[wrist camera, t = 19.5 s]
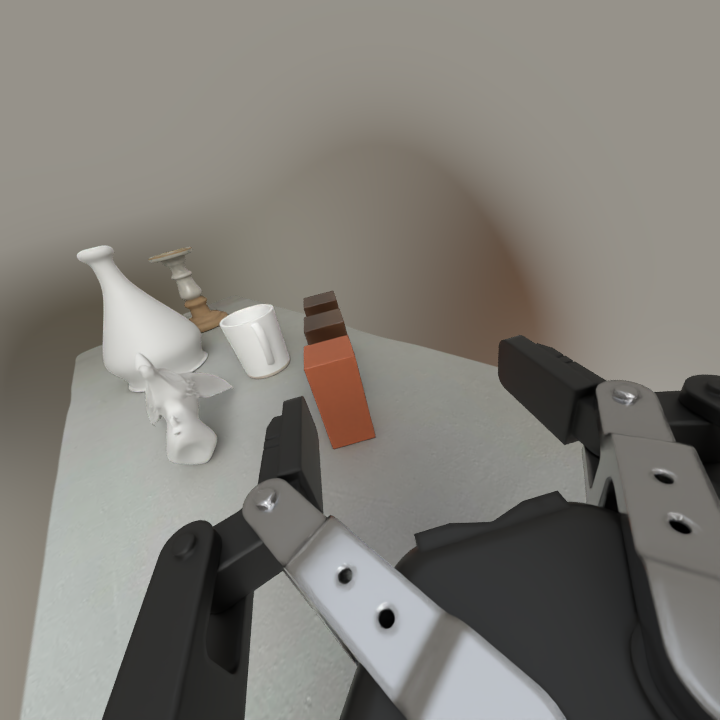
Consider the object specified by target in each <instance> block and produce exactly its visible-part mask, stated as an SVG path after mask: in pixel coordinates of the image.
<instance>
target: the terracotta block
mask: <svg viewBox="0 0 720 720" xmlns="http://www.w3.org/2000/svg"><path fill="white" fill-rule="evenodd" d="M304 371H305V373H306V376H307V379H308V382H309V384H310V387H311V390H312V393H313V395H314V398H315V401H316V404H317V406H318V409H319V412H320V414H321V417H322V420H323V423H324V425H325V428H326V431H327V434H328V436H329V439H330V442H331V444H332V447H333V449H336V448H340V447H343V446H347V445H350V444H354V443H357V442H360V441H364V440H367V439H371V438H374V437H375V433H374V429H373V425H372V421H371V417H370V413H369V409H368V405H367V401H366V397H365V393H364V390H363V386H362V382H361V378H360V374H359V370H358V366H357V362H356V358H355V355H354V352H353V349H352V346H351V343H350V340H349V337H348V335H345V336H342V337H338V338H334V339H330V340H327V341H323V342H319V343H316V344H312V345H308V346H305V347H304Z"/></svg>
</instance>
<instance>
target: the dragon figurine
mask: <svg viewBox="0 0 720 720" xmlns="http://www.w3.org/2000/svg"><path fill="white" fill-rule="evenodd" d="M135 368H136V370H137V372H139V373H140V374H141V376H142V377H143V378H144V379H145V380H146V382H147V388H146V391H145V395H146V396H145V399H146V411H147V415H148V417H149V419H150V421H151V423H156V422H158V421H159V420H160V419H161V417H162V416H163V418H164V419H165V420H166V421H167V431H166V451H167V456H168V459H169V460H170V461H171V462H172V463H176V464H204V463H206V462H208V461H209V460H210V458H211V457H212V454H213V452H214V449H215V446H216V443H217V436H216V434H215V433H214V431H213V430H212V429H211V428H210V427H208V426H207V425H205V424H204V423H203V422H202V421H201V420H200V419H199V416H198V413H199V400H198V399H199V398H208V397H212V396H215V395H217V394H219V393H221V392H223V391H225V390H227V389H229V388H233V387H232V386H231V385H230V384H229V383H228V382H227V381H225V380H224V379H222V378H220V377H217V376H215V375H211V374H206V373H201V372H193V373H175V372H173V371H171V370H168V369H165V368H158V369H156V368H155V367H154V366H153V364H152V363H151V362H150V361H149V360H148V359H147V358H146V357H145V356H144V355H143V354H141V353H137V354H136V355H135ZM152 425H153V424H152ZM154 426H155V425H154Z"/></svg>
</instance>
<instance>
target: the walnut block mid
mask: <svg viewBox="0 0 720 720" xmlns="http://www.w3.org/2000/svg"><path fill="white" fill-rule="evenodd" d="M304 333H305V336H306V339H307V342H308V345H312V344H316V343H319V342H323V341H327V340H330V339H334V338H338V337H342V336H345V335H347V332H346V328H345V324H344V321H343V318H342V315H341V312H340V309H339V308H338V309H335V310H331V311H327V312H323V313H320V314H316V315H312V316H308V317H305V318H304Z"/></svg>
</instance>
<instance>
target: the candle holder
mask: <svg viewBox="0 0 720 720" xmlns="http://www.w3.org/2000/svg"><path fill="white" fill-rule="evenodd" d="M192 251H193V249H192V247H187V248H182V249H178V250H174V251H170V252H166V253H163V254H160V255H156V256H153V257H150V258H148V260H149V262H150V263H156V262H162V263H163V264H164V265H165V266H166V267H169V268H170V269H171V271H172V277H171V278H172V279H173V280H176V282H177V285H178V289H179V294H180V297H181V298H182V299H184V300H186V302H185V307H186V308H188V309H190V311H191V314H192V318H190V319H189V320H190V321H191V322H193V323H194V324H195V325H196V326H197V327H198V328H199V330H200V332H205V331H208V330H210V329H213V328H215V327H217V326H219V325H220V322H221V320H222V319H224V318H225V317H226V316H228V314H227V313H226V312H223V311H218V310H211V311H210V309H209V308H208V306H207V305H206V301H207V298H205V297H203V296H201V293H202V290H201V288H200V287H199V286H198V285H197V284H196V283H195V282H194V280H193V279H192V277H191V274H192V272H191V271H189V270H187V269H186V267H185V265H184V262H185V255H186V254H188V253H190V252H192Z"/></svg>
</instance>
